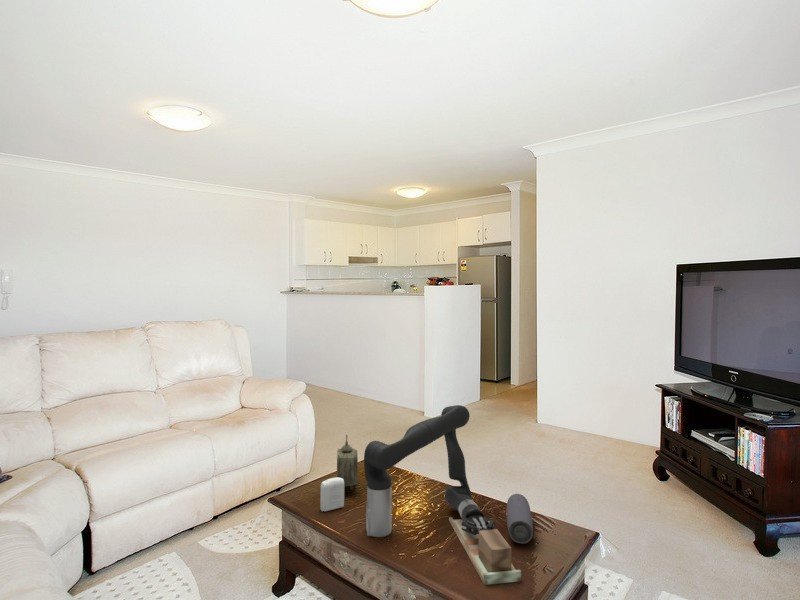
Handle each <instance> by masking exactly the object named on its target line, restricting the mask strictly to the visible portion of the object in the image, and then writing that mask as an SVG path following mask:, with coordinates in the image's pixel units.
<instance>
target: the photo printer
mask: <svg viewBox="0 0 800 600" xmlns="http://www.w3.org/2000/svg"><path fill="white" fill-rule="evenodd" d="M319 500H320V501H319V502H320V506H319V507H320V511H321V512H323V511H324V512H329V511H332V510H336V509H337V510H338V509H340V508H344V506H345V487H344V480H343V479H342V478H338V477H337V476H336V477H331V478H327V479H326V480H323V481H322V482H321V483H320V497H319Z"/></svg>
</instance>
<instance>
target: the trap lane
mask: <svg viewBox="0 0 800 600" xmlns="http://www.w3.org/2000/svg"><path fill="white" fill-rule="evenodd" d="M448 521H449V523H450V525H451V527H452V529H453V530H454V533H455V534H456V535H457V538H458V539H459V541H460V543H461V544H462V547H463V549H464V550H465V552H466V554H467V556H468V558H469V559H470V562H471V564H472V566H473V567H474V569H475V571H476V573H477V574H478V576H479V578H480V580H481V582H482V583H483V585H484V586H487V585H488V586H489V585H496V584H497V585H498V584H505V583H513V582H514V583H515V582H522V570H521V569H516V567H514V565H513V563H512V562H511V571H501V572H491V573H488V572H487V570H486V569H485V567H484V565H483V564H482V562H481V560H480V559H479V535H478V534H476V535H473V534H470V533H468V532H466V531H463V530H462V522H464V521H463V519H462V518H459V519H458V518H457V519H453V516H450V517H448ZM471 530H472V531H473V529H471Z"/></svg>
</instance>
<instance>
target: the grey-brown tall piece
mask: <svg viewBox="0 0 800 600" xmlns="http://www.w3.org/2000/svg"><path fill="white" fill-rule="evenodd" d="M348 443H349V442H348V434H346V435H345V444H344V445H342V446H341V448H337V451H336V453H337V454H336V477H338V478H342V479H343V480H344V488H345V487H347V486H350V487H349V490H354V486H355V485H356V484H358V481H359V480H358V476H359V475H358V470H359V469H358V468H359V467H358V466H359V464H358V460H359V459H358V458H359V457H358V455H359V454H358V449H356V448H353V447H352V446H351V445H350V444H348Z"/></svg>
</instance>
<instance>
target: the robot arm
mask: <svg viewBox="0 0 800 600" xmlns="http://www.w3.org/2000/svg"><path fill="white" fill-rule="evenodd" d="M440 414H441V415H440V416H436V417H431V418H428V419H425V420H422V421H420V422H418V423H416V424H414V425H412V426H410V427H409V428H408V429H407V430H406V432H405V433H404V436H403V437H402V438H401V439H399V440H398V441H395V442H393V443H391V444H387V443H385V442H383V441H382V442H381V441H380V440H373V441H370V442H368V444H367V445H366V447H365V450H364V453H363V455H364V456H363V464H364V465H363V466H364V467H363V468H364V469H363V470H364V478H365V480H366V481H365V482H366V503H365V504H366V505H365V506H366V510H365V514H366V516H365V518H366V519H365V521H366V522H365V524H366V525H365V526H366V527H365V528H366V534H367V537H374V538H384V537H387V536H389V535H391V533H392V525H393V524H392V477H391V476H390V474H389V473H388V472H387V470H390V469H392V468H393V467H394V466H396V465H398V464H399V463H400V462H401V461H402V460H403V459H405V458H407V457H409V456H410V455H412V454H414V453H416V452H417V451H419V450H421V449H423V448H425V447H426V446H429V445H431V444H432V443H434V442H435V441H437V440H438V439H440V438H442V437H444V442H445V445H446V452H447V464H448V477H449V479H450V480H453V481H458V483H459V484H460V485H453V486H452V485H451V486H448V487H447V488H446V489H445V492H444V497H445V500H446V503H448V505H449V506H450V507H452V508H453V509H454V510H457V511H458V513H459V517H460V519H463V521H464V522H462V530H463V531H466V532H468V533H470V534H473V535H476V534H478V535H479V531H482V530H493V529H496V520H495V519H491V520H488V518H487V517H485V515H484V513H483V511H482V510H481V508H480V507H479V506H478V504H477V503H476V502H474V500H473V498H472V492H471V488H470V485H469V482H468V479H467V473H466V459H465V455H464V452H463V450H462V447H461V446H460V444H459V441H458V438H457V430H458V429H460V428H462V427H465V426H466V425H467V424H468V422H469V420H470V416H471V415H470V414H471V413H470V411H469V410H468V408H467V407H466V406H464V405H459V404H457V405H449V406H446V407H444V408H443V409H442V411H441V413H440ZM471 529H473V531H472V530H471Z"/></svg>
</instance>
